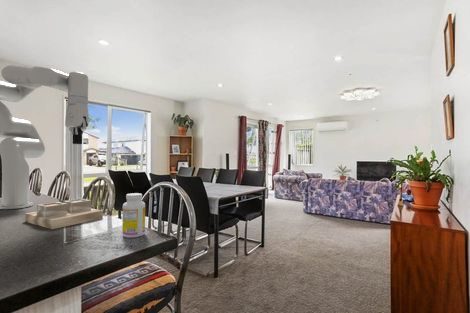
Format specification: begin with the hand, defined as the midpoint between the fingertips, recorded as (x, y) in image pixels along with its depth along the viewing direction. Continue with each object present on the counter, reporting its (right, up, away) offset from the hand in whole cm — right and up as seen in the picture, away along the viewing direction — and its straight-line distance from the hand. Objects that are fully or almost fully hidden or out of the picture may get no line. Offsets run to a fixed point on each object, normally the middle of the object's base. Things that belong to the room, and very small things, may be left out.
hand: (77, 143), depth 113 cm
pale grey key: (+7, -26, -11) cm, 29 cm away
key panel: (+5, -29, -15) cm, 33 cm away
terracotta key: (+3, -26, -19) cm, 32 cm away
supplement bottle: (+37, -30, -32) cm, 57 cm away
